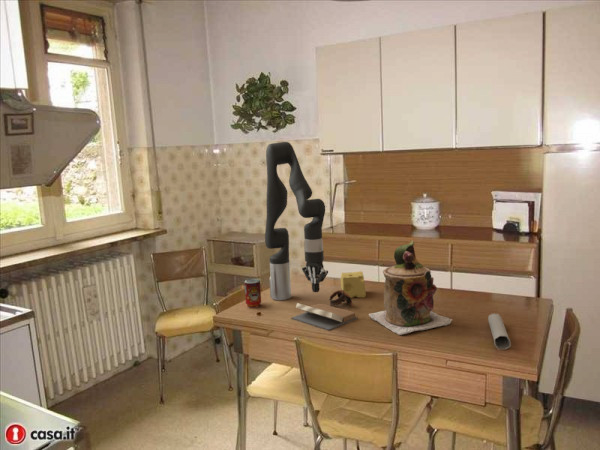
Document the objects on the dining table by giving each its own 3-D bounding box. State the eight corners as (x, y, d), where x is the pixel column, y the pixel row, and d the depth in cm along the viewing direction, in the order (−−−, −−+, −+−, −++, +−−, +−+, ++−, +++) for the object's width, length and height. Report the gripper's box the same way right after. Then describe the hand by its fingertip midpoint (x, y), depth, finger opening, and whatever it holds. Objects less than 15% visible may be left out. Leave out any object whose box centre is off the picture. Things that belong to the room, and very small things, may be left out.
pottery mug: (355, 310, 215) (346, 296, 212) (336, 319, 217) (326, 305, 215) (353, 295, 226) (345, 281, 223) (335, 304, 228) (326, 290, 226)
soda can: (249, 309, 222) (247, 282, 220) (243, 305, 228) (241, 279, 227) (263, 306, 225) (262, 280, 223) (258, 302, 231) (256, 276, 230)
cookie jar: (366, 317, 205) (363, 241, 200) (415, 307, 214) (414, 234, 209) (401, 337, 182) (399, 251, 177) (454, 325, 192) (454, 243, 187)
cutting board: (291, 318, 207) (291, 312, 207) (320, 308, 219) (319, 302, 218) (328, 330, 192) (328, 324, 192) (357, 318, 204) (357, 312, 203)
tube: (485, 313, 192) (491, 337, 168) (499, 309, 190) (507, 333, 167) (489, 326, 192) (496, 352, 168) (503, 322, 191) (513, 348, 167)
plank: (295, 307, 207) (297, 303, 208) (306, 311, 212) (307, 307, 213) (331, 318, 193) (332, 313, 194) (341, 322, 198) (343, 317, 198)
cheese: (365, 297, 231) (365, 276, 229) (342, 298, 231) (341, 277, 229) (363, 291, 241) (362, 270, 239) (340, 292, 241) (340, 271, 240)
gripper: (295, 249, 200) (297, 291, 203) (319, 253, 191) (321, 296, 193) (308, 246, 205) (310, 287, 208) (332, 249, 196) (334, 292, 198)
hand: (315, 291), depth 200 cm, fingers closed
